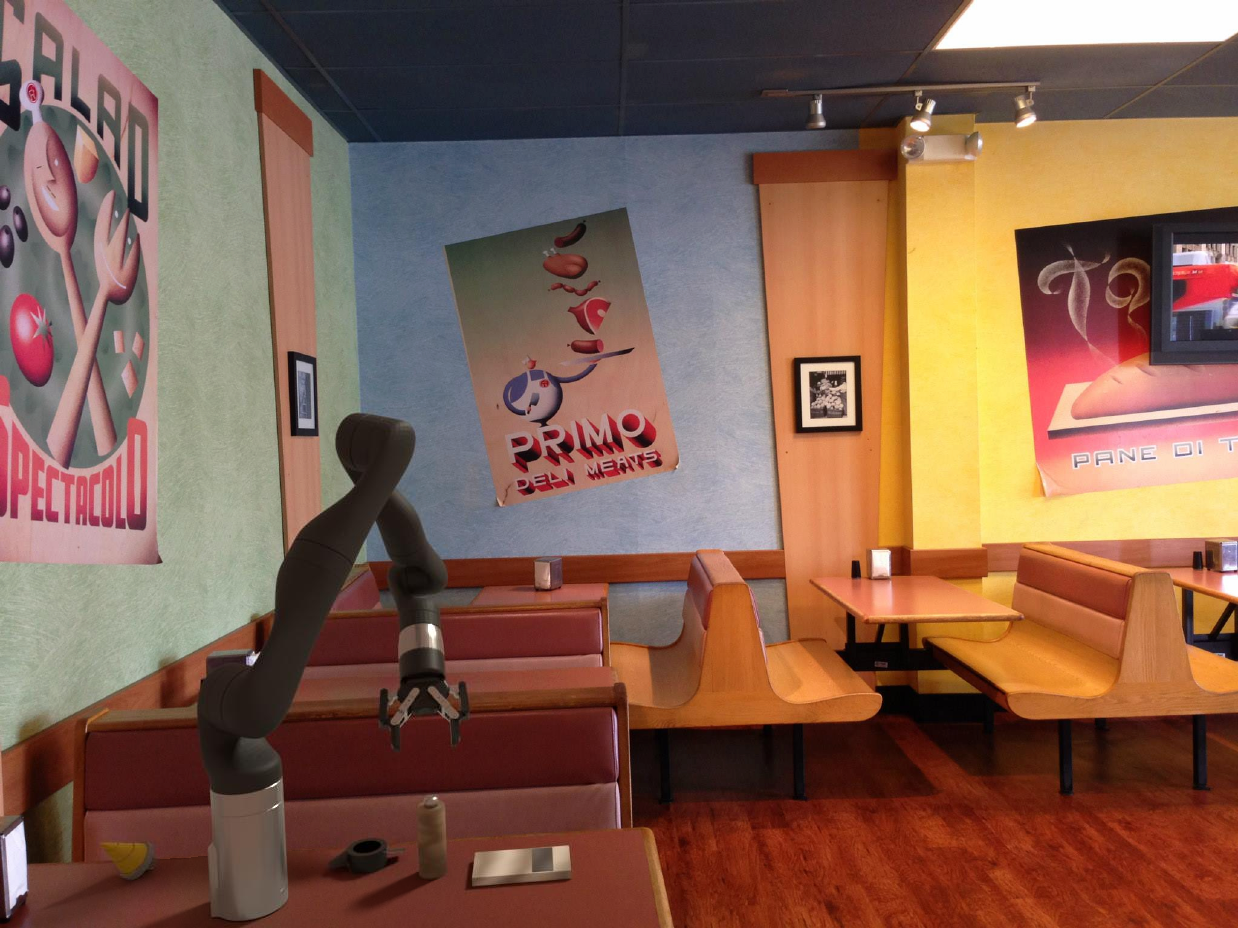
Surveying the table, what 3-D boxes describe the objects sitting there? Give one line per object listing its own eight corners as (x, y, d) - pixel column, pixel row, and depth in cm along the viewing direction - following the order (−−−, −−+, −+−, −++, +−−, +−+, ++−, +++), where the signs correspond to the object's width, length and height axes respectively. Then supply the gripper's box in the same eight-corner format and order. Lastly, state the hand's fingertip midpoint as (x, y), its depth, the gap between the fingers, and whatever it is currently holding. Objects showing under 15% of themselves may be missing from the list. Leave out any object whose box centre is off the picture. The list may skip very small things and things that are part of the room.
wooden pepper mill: (417, 880, 131) (415, 804, 131) (420, 866, 135) (418, 792, 135) (445, 878, 132) (443, 802, 131) (448, 864, 136) (445, 790, 135)
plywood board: (472, 885, 129) (472, 876, 129) (475, 859, 137) (475, 851, 137) (571, 878, 131) (571, 869, 131) (569, 853, 138) (568, 844, 138)
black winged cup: (388, 880, 132) (387, 861, 132) (324, 876, 134) (323, 857, 134) (409, 855, 140) (409, 836, 140) (348, 851, 142) (348, 833, 141)
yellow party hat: (163, 879, 135) (109, 854, 129) (135, 891, 136) (80, 867, 130) (172, 845, 139) (119, 818, 133) (145, 857, 140) (91, 831, 134)
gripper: (376, 649, 150) (378, 742, 139) (464, 641, 153) (473, 731, 143) (378, 672, 155) (380, 763, 145) (463, 664, 158) (471, 753, 148)
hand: (426, 747), depth 144 cm, fingers open, 8 cm apart
